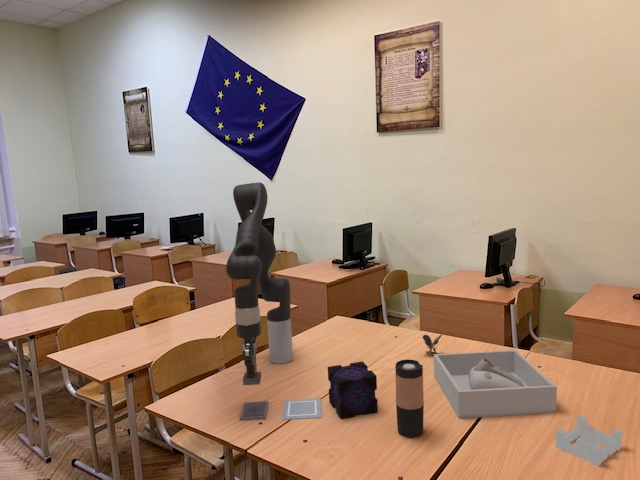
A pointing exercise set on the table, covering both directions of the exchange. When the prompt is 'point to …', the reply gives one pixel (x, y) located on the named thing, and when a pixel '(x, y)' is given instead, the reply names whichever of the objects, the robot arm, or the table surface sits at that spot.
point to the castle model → (588, 442)
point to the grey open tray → (497, 401)
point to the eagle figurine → (431, 344)
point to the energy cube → (352, 390)
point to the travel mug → (409, 398)
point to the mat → (302, 409)
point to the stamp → (253, 379)
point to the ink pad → (254, 410)
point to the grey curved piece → (491, 377)
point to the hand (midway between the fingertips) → (251, 373)
